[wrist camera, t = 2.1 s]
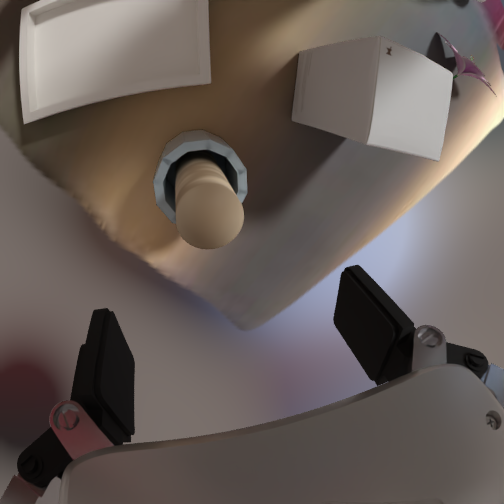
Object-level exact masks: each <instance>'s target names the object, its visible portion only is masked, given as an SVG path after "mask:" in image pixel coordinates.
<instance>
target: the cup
mask: <svg viewBox="0 0 504 504" xmlns="http://www.w3.org/2000/svg"><path fill="white" fill-rule="evenodd" d="M197 150H207V151H208V152H209V153H211V154H212V156H213V157H214V159H215V160H216V162H217V164H218V165H219V167H220V169H221V170H222V172H223V174H224V175H225V177H226V179H227V180H228V182H229V184H230V185H231V187H232V189H233V190H234V192H235V194H236V195H237V197H238V199H239V201H240V202H241V204H242V202H243V200H244V198H245V196H246V194H247V193H248V192H247V170H246V168H245V167H244V165H243V164H242V162H241V161H240V159H239V158H238V156H237V155H236V153H235V152H234V150H233V149H232V148H231V147H230V146H229V145H228V144H227V143H226V142H225V141H224V140H223V139H221V138H220V137H218V136H216V135H214V134H211V133H209V132H207V131H204V130H195V131H186V132H182V133H180V134H179V135H178V136H176V137H175V138H174V139H172V140H171V141H169V142H168V143H166V145H165V148H164V150H163V152H162V155H161V157H160V159H159V161H158V164H157V168H156V172H155V175H154V179H153V184H154V190H155V196H156V203H157V204H156V205H157V206H158V207H159V208H160V209H161V210H162V212H163V213H164V214H165V215H166V216H167V217H168V219H169V220H170V221H171V222H172V223H175V224H176V202H175V176H176V163H177V160H178V158H180V157H181V156H182V155H184V154H185V153H186V152H189V151H197Z"/></svg>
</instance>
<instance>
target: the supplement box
mask: <svg viewBox="0 0 504 504" xmlns="http://www.w3.org/2000/svg"><path fill="white" fill-rule="evenodd" d="M452 81H453V74H452V72H450V71H449V70H447V69H445V68H444V67H442V66H440V65H438V64H437V63H435V62H433V61H431V60H430V59H428V58H427V57H425V56H424V55H422V54H420V53H417V52H415V51H413V50H411V49H409V48H407V47H404V46H402V45H400V44H398V43H396V42H394V41H392V40H390V39H387V38H385V37H383V36H375V37H368V38H361V39H355V40H349V41H344V42H339V43H334V44H329V45H324V46H320V47H316V48H312V49H308V50H304V51H300V52H299V59H298V68H297V77H296V85H295V93H294V101H293V109H292V119H291V120H292V121H293V122H297V123H300V124H304V125H308V126H311V127H314V128H318V129H321V130H324V131H327V132H330V133H333V134H336V135H339V136H342V137H345V138H348V139H351V140H354V141H357V142H360V143H363V144H365V145H370V146H375V147H379V148H384V149H388V150H393V151H397V152H401V153H406V154H410V155H414V156H418V157H422V158H426V159H430V160H433V161H439V159H440V154H441V151H442V146H443V141H444V135H445V129H446V123H447V117H448V111H449V105H450V98H451V91H452Z"/></svg>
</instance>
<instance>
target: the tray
mask: <svg viewBox="0 0 504 504" xmlns="http://www.w3.org/2000/svg"><path fill="white" fill-rule="evenodd" d="M19 71H20V91H21V103H22V113H23V121H24V124H26V123H30V122H34V121H37V120H40V119H43V118H46V117H49V116H52V115H55V114H58V113H61V112H64V111H68V110H71V109H74V108H78V107H82V106H85V105H89V104H93V103H97V102H101V101H105V100H110V99H114V98H119V97H124V96H129V95H134V94H139V93H145V92H151V91H157V90H164V89H171V88H179V87H188V86H198V85H208V84H211V66H210V41H209V9H208V0H40V1H38V2H36V3H33V4H31V5H29V6H27V7H25V8H22V10H21V22H20V41H19Z"/></svg>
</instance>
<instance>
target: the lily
mask: <svg viewBox="0 0 504 504" xmlns="http://www.w3.org/2000/svg"><path fill="white" fill-rule="evenodd" d="M438 34H439V33H438ZM439 35H440V34H439ZM440 36H442V35H440ZM442 37H443V36H442ZM443 38H444V37H443ZM444 39H445V40H446V41H447V42H448V43H449V44H450V42H449V41H448V40H447V39H446V38H444ZM444 42H445V41H444ZM445 43H446V42H445ZM446 44H447V43H446ZM447 45H448V44H447ZM450 45H451V44H450ZM450 45H448V46H449V47H450V48H451V49H452V50H453V52H454V55H455V59H456V63H457V68H458V74H457V75H455V76H454V77H453V79H454V78H456V77H458V76H459V75H467V76H472V77H475V78H477V79H479V80H481V81H482V82H484V83H485V84H486V85H487V86H488V87H489V85H490V83H489V82H488V81H487V83H488V84H489V85H488V84H487V83H486V82H485V81H486V80H485V79H484V77H485V75H484V74H483V73H482V72H481V71H480V69H479V68H478V67H477V66H476V65H475V63H473V62H472V61H473V60H474V59H473V58H474V57H473V58H472V59H473V60H472V59H471V58H470V59H471V60H470V59H468V58H467V57H464V56H463V57H461V56H460V55H459V54H458V52H457V51H456V49H455V48H454V47H453V46H452V45H451V46H452V47H453V48H452V47H451V46H450ZM484 80H485V81H484ZM490 86H491V85H490ZM489 88H490V87H489ZM490 89H491V88H490ZM491 91H492V92H493V90H492V89H491ZM493 93H494V92H493ZM494 94H495V93H494ZM495 95H496V94H495Z"/></svg>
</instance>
